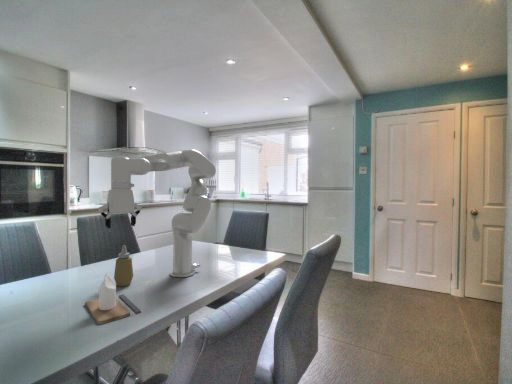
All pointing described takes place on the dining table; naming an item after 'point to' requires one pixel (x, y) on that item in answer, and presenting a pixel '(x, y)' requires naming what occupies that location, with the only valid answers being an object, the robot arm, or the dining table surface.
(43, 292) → the dining table surface
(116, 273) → the squeeze bottle
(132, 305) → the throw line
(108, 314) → the board
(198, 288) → the dining table surface
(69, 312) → the dining table surface
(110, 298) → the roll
